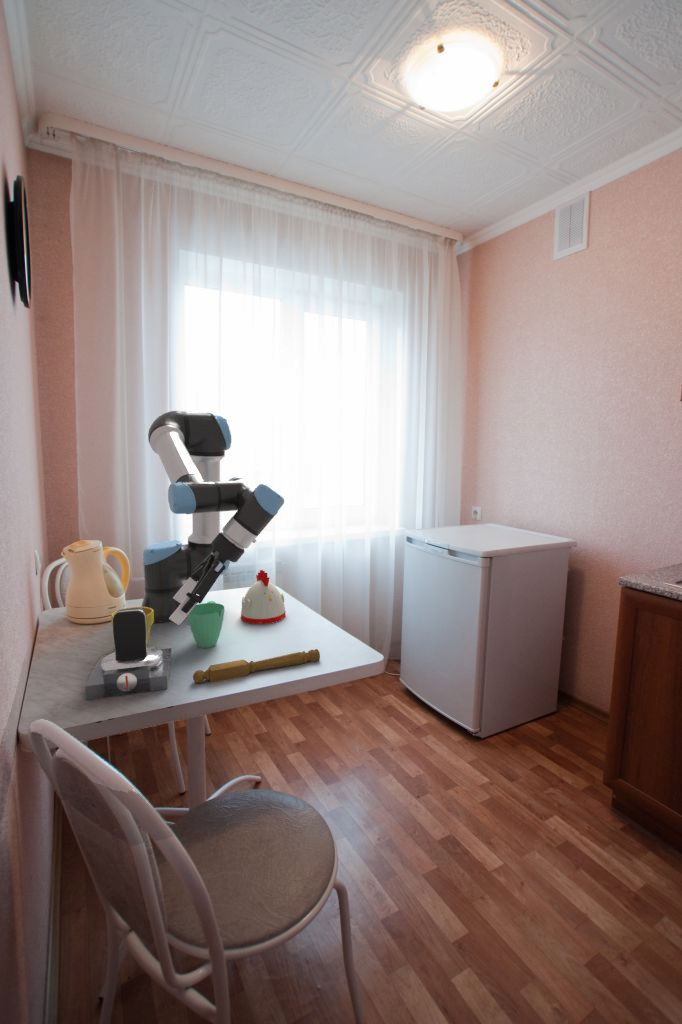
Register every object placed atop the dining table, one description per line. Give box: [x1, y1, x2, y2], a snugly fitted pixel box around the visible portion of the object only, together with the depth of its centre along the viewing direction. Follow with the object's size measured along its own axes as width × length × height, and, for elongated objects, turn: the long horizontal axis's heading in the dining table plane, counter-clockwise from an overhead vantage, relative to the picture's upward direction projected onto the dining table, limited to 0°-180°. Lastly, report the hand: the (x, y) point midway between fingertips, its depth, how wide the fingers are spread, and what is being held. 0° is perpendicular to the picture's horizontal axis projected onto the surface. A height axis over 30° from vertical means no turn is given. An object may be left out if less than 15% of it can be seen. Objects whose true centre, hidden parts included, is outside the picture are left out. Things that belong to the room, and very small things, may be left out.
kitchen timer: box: [240, 569, 286, 625], centre depth 150 cm, size 14×14×15 cm
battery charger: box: [112, 607, 147, 661], centre depth 109 cm, size 7×4×11 cm, turn 106°
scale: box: [84, 645, 173, 701], centre depth 109 cm, size 16×16×5 cm
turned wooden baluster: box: [192, 648, 321, 684], centre depth 112 cm, size 3×3×30 cm
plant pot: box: [110, 606, 155, 646], centre depth 126 cm, size 10×10×10 cm
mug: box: [186, 600, 225, 649], centre depth 130 cm, size 15×10×10 cm
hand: (175, 610), depth 112 cm, fingers open, 13 cm apart
